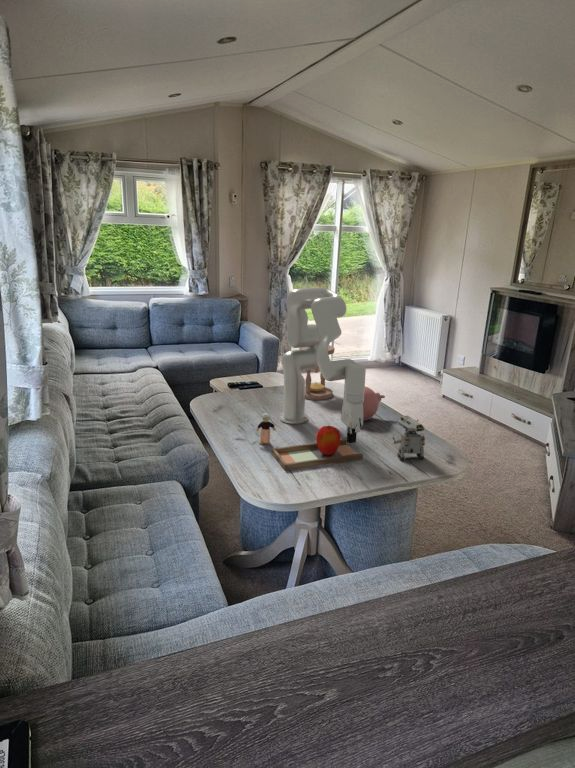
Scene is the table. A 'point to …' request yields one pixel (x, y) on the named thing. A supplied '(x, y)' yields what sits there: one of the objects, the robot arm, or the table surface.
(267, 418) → the grandmother figurine
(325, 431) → the apple
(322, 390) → the hourglass
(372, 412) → the balloon
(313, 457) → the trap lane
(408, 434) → the figurine
